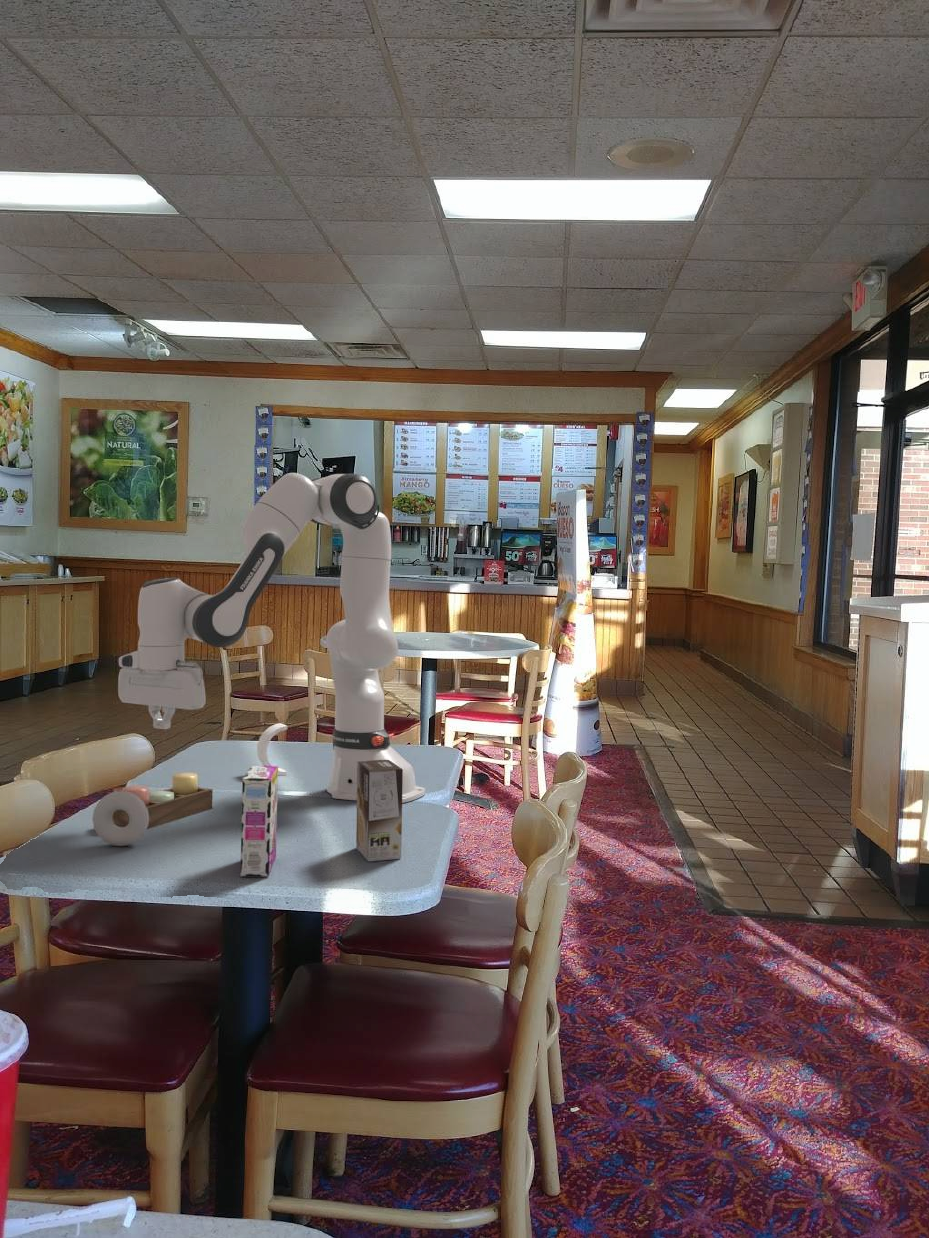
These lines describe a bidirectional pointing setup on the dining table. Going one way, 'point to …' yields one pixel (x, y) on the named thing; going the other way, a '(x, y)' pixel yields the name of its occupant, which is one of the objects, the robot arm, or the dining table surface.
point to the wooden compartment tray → (171, 808)
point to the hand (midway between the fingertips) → (161, 728)
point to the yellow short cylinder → (185, 783)
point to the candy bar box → (259, 821)
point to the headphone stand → (264, 743)
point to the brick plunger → (139, 792)
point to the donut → (106, 825)
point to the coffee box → (379, 810)
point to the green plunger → (161, 796)
